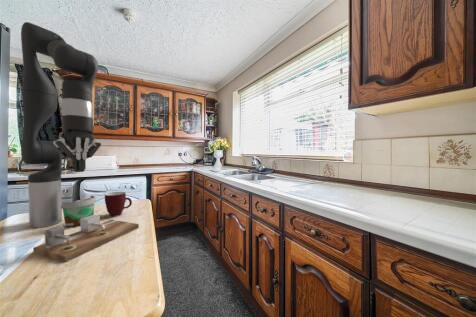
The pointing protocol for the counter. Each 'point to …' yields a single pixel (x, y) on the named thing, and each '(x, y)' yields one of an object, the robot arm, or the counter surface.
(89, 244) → the hole board
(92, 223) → the leg
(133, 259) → the counter surface
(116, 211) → the mug
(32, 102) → the robot arm
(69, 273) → the counter surface
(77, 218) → the food container
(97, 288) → the counter surface
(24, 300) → the counter surface
